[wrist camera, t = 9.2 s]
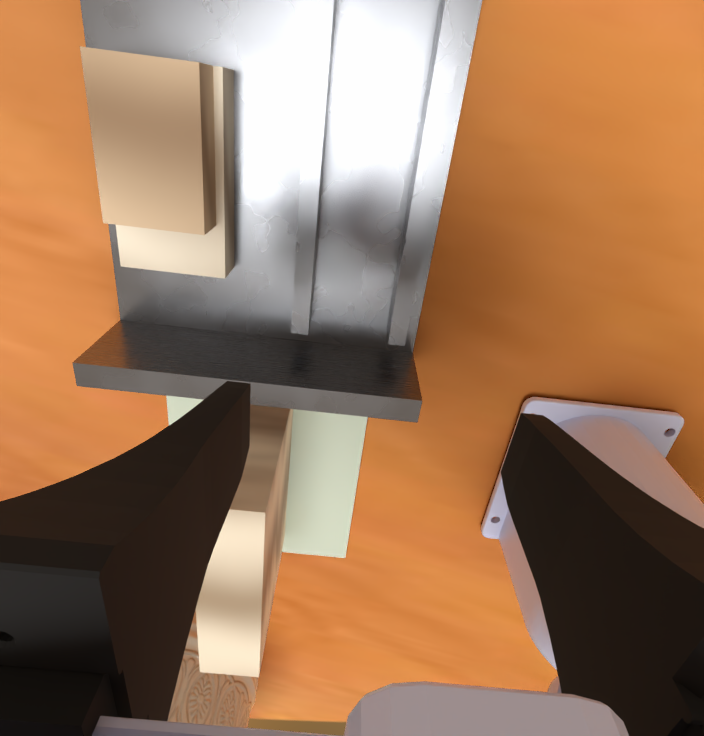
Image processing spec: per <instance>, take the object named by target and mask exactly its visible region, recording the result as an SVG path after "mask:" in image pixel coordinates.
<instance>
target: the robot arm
mask: <svg viewBox="0 0 704 736" xmlns="http://www.w3.org/2000/svg"><path fill="white" fill-rule="evenodd" d="M250 390H251V383H242V382H232V381H227V382H225V383H224V384H223V385H221V386H220V387H219V388H218V389H216V390H215V391H214V392H213V393H211V394H210V395H209V396H208V397H206V398H205V399H204V400H203V401H201V402H200V403H199V404H198V405H196V406H195V407H194V408H193V409H191V410H190V411H189V412H187V413H186V414H185V415H183V416H182V417H181V418H179V419H178V420H177V421H175V422H174V423H172V424H171V425H169V426H168V427H166V428H165V429H163V430H162V431H161V432H159V433H158V434H156V435H155V436H153V437H151V438H150V439H148V440H147V441H145V442H143V443H141V444H140V445H138V446H136V447H134V448H133V449H131V450H129V451H127V452H125V453H123V454H121V455H120V456H118V457H116V458H114V459H112V460H109V461H107V462H105V463H103V464H101V465H98V466H96V467H94V468H92V469H90V470H87V471H85V472H83V473H81V474H79V475H76V476H74V477H71V478H69V479H66V480H64V481H61V482H58V483H56V484H53V485H50V486H47V487H45V488H42V489H39V490H36V491H33V492H30V493H27V494H24V495H21V496H18V497H15V498H11V499H8V500H4V501H1V502H0V736H339V735H326V734H315V733H302V732H291V731H279V730H265V729H254V728H242V727H230V726H218V725H206V724H194V723H182V722H169V721H167V720H168V716H169V712H170V708H171V703H172V699H173V695H174V691H175V687H176V683H177V679H178V675H179V671H180V667H181V663H182V659H183V655H184V651H185V647H186V643H187V639H188V636H189V632H190V628H191V625H192V621H193V617H194V613H195V610H196V606H197V602H198V599H199V595H200V591H201V588H202V584H203V581H204V577H205V574H206V570H207V567H208V564H209V561H210V558H211V555H212V552H213V549H214V547H215V544H216V542H217V539H218V537H219V534H220V532H221V529H222V527H223V524H224V522H225V519H226V517H227V514H228V512H229V509H230V507H231V504H232V502H233V499H234V496H235V494H236V491H237V489H238V486H239V484H240V481H241V478H242V474H243V471H244V467H245V463H246V459H247V455H248V450H249V446H250ZM531 413H534V414H531ZM683 425H684V419H683V418H682V417H681V416H680V415H679V414H678V413H676V412H669V411H660V410H651V409H642V408H632V407H623V406H614V405H605V404H596V403H587V402H578V401H569V400H560V399H551V398H542V397H531V398H528V399H527V400H525V401H524V403H523V405H522V408H521V411H520V414H519V417H518V420H517V423H516V426H515V429H514V432H513V435H512V438H511V440H510V443H509V446H508V449H507V452H506V455H505V458H504V461H503V464H502V467H501V470H500V473H499V476H498V479H497V482H496V484H495V487H494V490H493V493H492V496H491V499H490V502H489V505H488V508H487V511H486V514H485V517H484V520H483V523H482V526H481V532H482V534H483V536H484V537H487V538H493V539H499V541H500V544H501V547H502V551H503V554H504V557H505V560H506V564H507V567H508V570H509V573H510V576H511V580H512V583H513V586H514V589H515V593H516V596H517V599H518V602H519V605H520V609H521V612H522V615H523V618H524V622H525V625H526V628H527V630H528V632H529V635H530V637H531V639H532V640H533V642H534V644H535V645H536V647H537V648H538V650H539V651H540V652H541V654H542V655H543V656H544V657H545V658H546V659H547V661H548V662H549V663H550V664H551V665H552V666H553V667H554V668H555V669H556V670H557V672H558V677H556V678H555V679H554V680H553V681H552V682H551V684H550V686H549V688H548V692H539V691H528V690H516V689H505V688H493V687H482V686H470V685H459V684H447V683H436V682H408V683H392V684H389V685H387V686H385V687H382V688H380V689H377V690H375V691H372V692H370V693H368V694H366V695H365V696H364V697H363V698H362V699H361V700H360V701H359V702H358V704H357V705H356V706H355V708H354V709H353V710H352V712H351V713H350V714H349V716H348V719H347V724H346V728H345V734H344V736H704V504H703V503H702V502H701V500H700V499H699V498H698V497H697V496H696V494H695V493H694V492H693V491H692V490H691V489H690V487H689V486H688V485H687V484H686V483H685V482H684V480H683V479H682V478H681V477H680V476H679V474H678V473H677V472H676V471H675V470H674V469H673V467H672V466H671V465H670V464H669V463H668V461H667V460H666V459H665V458H666V456H667V454H668V452H669V451H670V449H671V447H672V445H673V443H674V441H675V440H676V438H677V436H678V434H679V432H680V430H681V429H682V427H683ZM670 428H671V429H670ZM667 429H670V430H669V431H667V432H665V431H666V430H667ZM493 517H496V518H493Z"/></svg>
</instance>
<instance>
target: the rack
mask: <svg viewBox="0 0 704 736" xmlns="http://www.w3.org/2000/svg"><path fill="white" fill-rule="evenodd" d="M80 2H81V10H82V18H83V26H84V34H85V42H86V47H88V48H96V49H103V50H111V51H118V52H126V53H133V54H141V55H148V56H156V57H163V58H171V59H178V60H186V61H193V62H200V63H204V64H208V65H212V66H219V67H225V68H228V69H232V70H234V268H233V269H232V271H231V272H230V273H229V275H228V276H227V277H226V278H225V279H224V278H215V277H207V276H198V275H190V274H181V273H172V272H164V271H155V270H147V269H138V268H130V267H121V265H120V257H119V248H118V240H117V232H116V225H115V224H109V232H110V240H111V248H112V256H113V264H114V272H115V279H116V287H117V295H118V303H119V311H120V319H121V320H120V321H119V322H118V323H117V324H115V325H114V326H113V327H112V328H111V329H110V330H109V331H108V332H106V333H105V334H104V335H103V336H102V337H101V338H100V339H99V340H97V341H96V342H95V343H94V344H93V345H92V346H91V347H90V348H89V349H87V350H86V351H85V352H84V353H83V354H82V355H81V356H80V357H78V358H77V359H76V360H75V361H74V362H73V368H74V373H75V378H76V384H77V386H82V387H92V388H101V389H110V390H120V391H129V392H138V393H148V394H157V395H166V396H176V397H185V398H194V399H203V400H204V399H205V398H206V397H208V396H209V395H210V394H211V393H213V392H214V391H215V390H216V389H218V388H219V387H220V386H221V385H223V384H224V383H225V382H227V381H232V382H242V383H251V390H250V405H259V406H269V407H278V408H287V409H297V410H306V411H315V412H325V413H334V414H343V415H353V416H362V417H371V418H381V419H390V420H399V421H409V422H418V418H419V413H420V409H421V404H422V397H421V392H420V387H419V382H418V377H417V372H416V367H415V362H414V357H413V349H414V344H415V339H416V334H417V329H418V324H419V318H420V313H421V308H422V303H423V298H424V293H425V288H426V283H427V278H428V273H429V268H430V263H431V258H432V253H433V248H434V243H435V237H436V232H437V227H438V222H439V217H440V212H441V207H442V202H443V197H444V192H445V187H446V182H447V177H448V172H449V167H450V161H451V156H452V151H453V146H454V141H455V136H456V131H457V126H458V121H459V116H460V111H461V106H462V101H463V96H464V91H465V86H466V80H467V75H468V70H469V65H470V60H471V55H472V50H473V45H474V40H475V35H476V30H477V25H478V20H479V15H480V10H481V4H482V0H80Z"/></svg>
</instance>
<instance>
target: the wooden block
mask: <svg viewBox="0 0 704 736" xmlns="http://www.w3.org/2000/svg"><path fill="white" fill-rule="evenodd" d="M292 422H293V409H287V408H278V407H269V406H259V405H250V446H249V450H248V455H247V459H246V463H245V467H244V471H243V474H242V478H241V481H240V484H239V486H238V489H237V491H236V494H235V496H234V499H233V502H232V504H231V507H230V509H229V512H228V514H227V517H226V519H225V522H224V524H223V527H222V529H221V532H220V534H219V537H218V539H217V542H216V544H215V547H214V549H213V552H212V555H211V558H210V561H209V564H208V567H207V570H206V574H205V577H204V581H203V584H202V588H201V591H200V595H199V599H198V602H197V606H196V621H197V636H198V651H199V667H200V672H204V673H215V674H227V675H238V676H250V677H259V675H260V669H261V664H262V658H263V653H264V647H265V642H266V636H267V631H268V625H269V620H270V614H271V609H272V603H273V598H274V592H275V587H276V581H277V576H278V570H279V565H280V559H281V554H282V548H283V543H284V537H285V526H286V511H287V496H288V481H289V466H290V452H291V437H292Z"/></svg>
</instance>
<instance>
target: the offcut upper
mask: <svg viewBox="0 0 704 736" xmlns="http://www.w3.org/2000/svg"><path fill="white" fill-rule="evenodd" d="M80 50H81V58H82V66H83V73H84V81H85V88H86V96H87V104H88V111H89V119H90V127H91V134H92V142H93V149H94V157H95V165H96V172H97V180H98V187H99V195H100V203H101V210H102V218H103V223H107V224H115V225H124V226H132V227H140V228H149V229H157V230H165V231H174V232H182V233H190V234H199V235H205V234H207V233H208V232H209V231H210V230H211V229H213V228H214V227H215V226H216V181H215V132H214V83H213V66H212V65H208V64H204V63H200V62H193V61H186V60H178V59H171V58H163V57H156V56H148V55H141V54H133V53H126V52H118V51H111V50H103V49H96V48H88V47H81V46H80Z"/></svg>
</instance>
